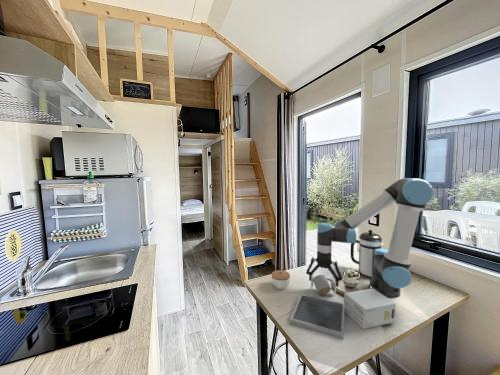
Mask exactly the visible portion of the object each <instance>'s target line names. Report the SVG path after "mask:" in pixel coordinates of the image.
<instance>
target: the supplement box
mask: <svg viewBox="0 0 500 375" xmlns="http://www.w3.org/2000/svg"><path fill="white" fill-rule="evenodd" d="M343 294H344V296H343V304H344V308H345V314H347V315H348V316H349V317H350V318H351V319H352V320H353V321H354V322H356V323H357V324H358V326H359V327H360V328H362V329H363V330H366V329H369V328H374V327H380V326H383V325H387V324H393V323H395V321H396V318H395V317H396V302H394V301H393V300H392V299H391V298H388V296H384V295H383V294H381V293H379V292H378V291H376V290H375V289H373V288H366V289H361V290H360V289H359V290H354V291H348V292H344V293H343Z"/></svg>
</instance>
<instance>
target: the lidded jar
mask: <svg viewBox="0 0 500 375" xmlns="http://www.w3.org/2000/svg"><path fill="white" fill-rule="evenodd" d="M290 280H291V274H290V272H288V271H287V270H282V269H281V270H278V269H277V270H274V271H272V272H271V282H272V284H273V286H274V287H275V288H276V289H277V290H285V289H287V287H288V286H289V284H290Z"/></svg>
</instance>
